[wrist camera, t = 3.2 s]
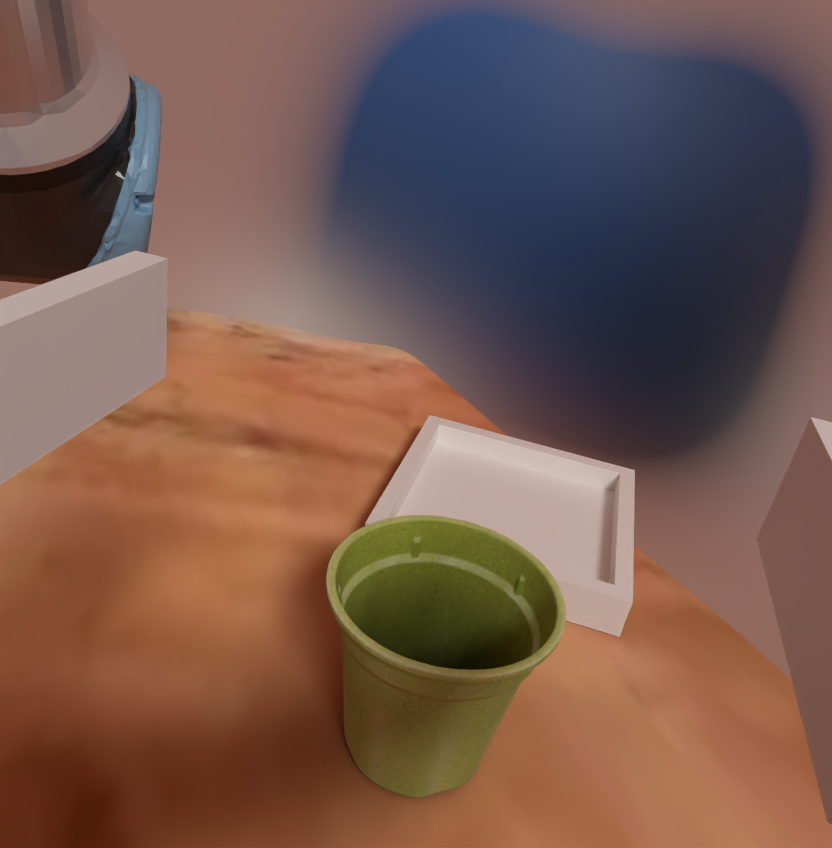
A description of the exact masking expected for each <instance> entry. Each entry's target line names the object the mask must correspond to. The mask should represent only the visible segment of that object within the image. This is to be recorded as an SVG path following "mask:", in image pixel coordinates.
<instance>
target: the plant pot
mask: <svg viewBox="0 0 832 848" xmlns="http://www.w3.org/2000/svg"><path fill="white" fill-rule="evenodd" d="M326 593H327V598H328V602H329V605H330V608H331V610H332V612H333V614H334V616H335V618H336V620H337V624H338V628H339V631H340V633H341V636H342V657H343V692H344V735H345V739H346V743H347V745H348V748H349V750H350V752H351V755H352V757H353V759H354V762H355V764H356V766H357V767H358V768H359V769H360V770H361V772H362V773H363V774H364V775H365V776H366V777H368V778H369V779H370V780H371V781H373V782H374V783H376V784H377V785H379V786H381V787H383V788H385V789H387V790H389V791H392V792H394V793H397V794H401V795H405V796H410V797H426V796H429V795H432V794H434V793H438V792H441V791H445V790H449V789H456V788H458V787H460V786H462V785H463V784H464V783H466V782H467V781H468V780H469V779H470V777H471V776H472V775H473V774H474V772H475V771H476V769H477V768H478V765H479V763H480V761H481V759H482V757H483V755H484V753H485V751H486V749H487V747H488V745H489V743H490V741H491V739H492V737H493V735H494V733H495V731H496V729H497V727H498V725H499V723H500V721H501V719H502V718H503V716H504V714H505V712H506V710H507V708H508V706H509V704H510V702H511V700H512V698H513V696H514V694H515V692H516V690H517V688H518V687H519V685H520V683H521V681H523V680H524V679H525V678H526V677H527V676H528V675H529V674H530V673H531V671H532V670H533V669H534V667H536V666H537V665H539V664H540V663H541V662H543V661H544V660H545V659H546V658H547V657H548V656H549V655H550V654H551V653H552V652H553V650H554V649H555V648H556V646H557V644H558V642H559V640H560V638H561V636H562V633H563V631H564V627H565V622H566V607H565V603H564V599H563V596H562V593H561V590H560V587H559V585H558V584H557V582H556V580H555V579H554V577H553V576H552V574H551V573H550V572H549V570H548V569H547V568H546V567H545V565H544V564H543V563H542V562H541V561H540V560H538V559H537V558H536V557H535V556H534V555H533V554H531V553H530V552H528V551H527V550H525V549H524V548H523V547H522V546H520V545H519V544H518V543H516V542H514V541H513V540H511V539H509V538H508V537H506V536H504V535H502V534H500V533H498V532H496V531H493V530H491V529H489V528H484V527H482V526H480V525H478V524H474V523H471V522H467V521H464V520H457V519H453V518H447V517H443V516H433V515H407V516H399V517H393V518H387V519H383V520H380V521H376V522H374V523H371V524H368V525H366V526H364V527H362V528H360V529H358V530H356V531H355V532H353V533H352V534H350V535H349V536H348V537H347V538H346V539H345V540H344V541H342V542H341V544H340V545H339V546H338V547H337V548H336V550H335V551H334V553H333V555H332V556H331V559H330V561H329V564H328V568H327V573H326Z"/></svg>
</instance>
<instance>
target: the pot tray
mask: <svg viewBox="0 0 832 848" xmlns="http://www.w3.org/2000/svg"><path fill="white" fill-rule="evenodd" d="M634 484H635V470H632V469H628V468H624V467H620V466H617V465H613V464H609V463H606V462H602V461H598V460H594V459H591V458H587V457H583V456H580V455H576V454H572V453H568V452H565V451H561V450H557V449H554V448H550V447H546V446H543V445H539V444H535V443H531V442H528V441H524V440H520V439H517V438H513V437H509V436H505V435H502V434H498V433H494V432H491V431H487V430H483V429H479V428H476V427H472V426H468V425H465V424H461V423H457V422H454V421H450V420H446V419H442V418H439V417H435V416H431V415H429V417H428V419H427V420H426V422H425V424H424V425H423V427H422V429H421V430H420V432H419V434H418V435H417V437H416V439H415V441H414V442H413V444H412V446H411V447H410V449H409V451H408V452H407V454H406V456H405V457H404V459H403V461H402V462H401V464H400V466H399V467H398V469H397V471H396V472H395V474H394V476H393V477H392V479H391V481H390V482H389V484H388V486H387V487H386V489H385V491H384V492H383V494H382V496H381V497H380V499H379V501H378V502H377V504H376V506H375V507H374V509H373V511H372V512H371V514H370V516H369V517H368V519H367V521H366V523H365V526H366V525H368V524H371V523H374V522H376V521H380V520H383V519H387V518H393V517H399V516H407V515H433V516H443V517H447V518H453V519H457V520H464V521H467V522H471V523H474V524H478V525H480V526H482V527H484V528H489V529H491V530H493V531H496V532H498V533H500V534H502V535H504V536H506V537H508V538H509V539H511V540H513V541H514V542H516V543H518V544H519V545H520V546H522V547H523V548H524V549H525V550H527V551H528V552H530V553H531V554H533V555H534V556H535V557H536V558H537V559H538V560H540V561H541V562H542V563H543V564H544V565H545V567H546V568H547V569H548V570H549V572H550V573H551V574H552V576H553V577H554V579H555V580H556V582H557V584H558V585H559V587H560V590H561V593H562V596H563V599H564V603H565V607H566V621H569V622H572V623H575V624H578V625H582V626H585V627H588V628H592V629H595V630H598V631H601V632H605V633H608V634H611V635H615V636H618V637H620V634H621V631H622V629H623V626H624V624H625V621H626V618H627V616H628V613H629V610H630V608H631V605H632V602H633V555H634V487H635V486H634Z"/></svg>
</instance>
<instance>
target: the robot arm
mask: <svg viewBox="0 0 832 848" xmlns="http://www.w3.org/2000/svg"><path fill="white" fill-rule="evenodd" d="M161 119H162V99H161V95H160V92H159V91H158V89H157V88H156V87H155V86H154V85H153V84H151V83H148V82H145V81H142V80H141V79H140V78H138V77H136V76H132V75H129V74H128V69H127V65H126V62H125V58H124V55H123V53H122V51H121V49H120V47H119V45H118V43H117V42H116V40H115V39H114V38H113V37H112V35H111V34H110V32H109V31H108V30H107V29H106V28H105V27H104V26H103V25H102V24H101V23H100V21H98V20H97V19H96V18H95V17H94V16H93V15H91V14H90V13H89V12H88V6H87V0H0V281H10V282H20V283H31V284H32V283H33V284H42V285H39V286H36V287H33V288H31V289H28V290H25V291H23V292H20V293H17V294H14V295H11V296H9V297H6V298H3V299H0V485H1V484H2V483H4V482H5V481H7V480H8V479H10V478H12V477H13V476H15V475H16V474H18V473H19V472H21V471H22V470H24V469H25V468H27V467H28V466H30V465H31V464H33V463H35V462H36V461H38V460H39V459H41V458H42V457H44V456H45V455H47V454H48V453H50V452H51V451H53V450H54V449H56V448H57V447H59V446H61V445H62V444H64V443H65V442H67V441H68V440H70V439H71V438H73V437H74V436H76V435H77V434H79V433H80V432H82V431H83V430H85V429H87V428H88V427H90V426H91V425H93V424H94V423H96V422H97V421H99V420H100V419H102V418H103V417H105V416H106V415H108V414H110V413H111V412H113V411H114V410H116V409H117V408H119V407H120V406H122V405H123V404H125V403H126V402H128V401H129V400H131V399H132V398H134V397H136V396H137V395H139V394H140V393H142V392H143V391H145V390H146V389H148V388H149V387H151V386H152V385H154V384H155V383H157V382H158V381H160V380H162V379H163V378H165V377H166V344H167V285H168V283H167V281H168V258H164V257H160V256H156V255H151V254H148V253H147V251H148V245H149V239H150V232H151V223H152V215H153V199H154V194H155V186H156V182H157V173H158V162H159V151H160V137H161ZM757 542H758V546H759V549H760V554H761V558H762V562H763V566H764V570H765V574H766V578H767V582H768V586H769V590H770V594H771V598H772V602H773V606H774V610H775V614H776V618H777V622H778V626H779V630H780V634H781V638H782V642H783V646H784V650H785V654H786V658H787V662H788V666H789V670H790V674H791V678H792V682H793V686H794V690H795V694H796V698H797V702H798V706H799V710H800V714H801V718H802V722H803V726H804V730H805V734H806V738H807V742H808V746H809V750H810V754H811V758H812V762H813V766H814V770H815V774H816V778H817V782H818V786H819V790H820V794H821V798H822V802H823V806H824V810H825V814H826V818H827V822H828V823H831V824H832V422H827V421H824V420H820V419H815V418H812V417H810V420H809V422H808V424H807V426H806V429H805V431H804V433H803V435H802V437H801V440H800V442H799V445H798V446H797V449H796V451H795V453H794V455H793V458H792V460H791V462H790V464H789V467H788V469H787V471H786V473H785V476H784V478H783V480H782V482H781V485H780V487H779V489H778V491H777V494H776V496H775V498H774V500H773V503H772V505H771V507H770V509H769V512H768V514H767V516H766V519H765V520H764V523H763V525H762V527H761V530H760V532H759V534H758V536H757Z"/></svg>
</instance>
